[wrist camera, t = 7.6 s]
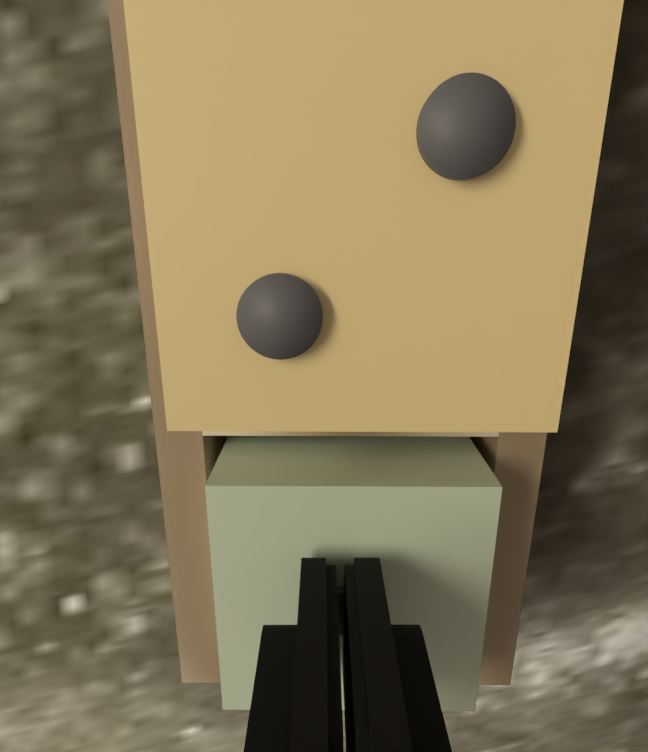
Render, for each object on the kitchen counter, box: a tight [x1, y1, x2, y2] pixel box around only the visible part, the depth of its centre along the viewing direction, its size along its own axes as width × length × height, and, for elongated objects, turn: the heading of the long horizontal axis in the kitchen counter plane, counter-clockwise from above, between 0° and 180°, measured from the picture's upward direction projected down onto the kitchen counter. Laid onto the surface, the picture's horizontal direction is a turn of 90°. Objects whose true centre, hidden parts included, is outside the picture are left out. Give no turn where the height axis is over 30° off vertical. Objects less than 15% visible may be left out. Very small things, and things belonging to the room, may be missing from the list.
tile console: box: [107, 0, 547, 685], centre depth 12 cm, size 9×24×4 cm, turn 0°
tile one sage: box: [205, 436, 502, 711], centre depth 12 cm, size 6×6×4 cm
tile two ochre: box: [123, 0, 624, 432], centre depth 8 cm, size 6×6×4 cm
